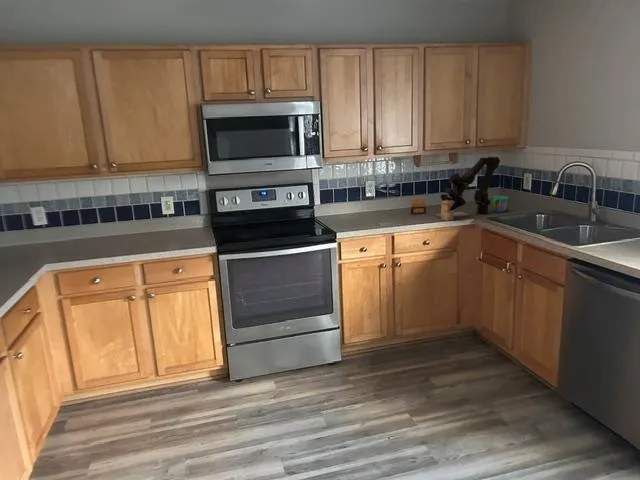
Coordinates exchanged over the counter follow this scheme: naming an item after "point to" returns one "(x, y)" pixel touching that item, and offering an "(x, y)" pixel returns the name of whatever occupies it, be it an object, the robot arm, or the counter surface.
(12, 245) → the counter surface
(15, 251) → the counter surface
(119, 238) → the counter surface
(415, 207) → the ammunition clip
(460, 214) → the rubber mat
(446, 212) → the birch block
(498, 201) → the snack cup
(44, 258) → the counter surface
